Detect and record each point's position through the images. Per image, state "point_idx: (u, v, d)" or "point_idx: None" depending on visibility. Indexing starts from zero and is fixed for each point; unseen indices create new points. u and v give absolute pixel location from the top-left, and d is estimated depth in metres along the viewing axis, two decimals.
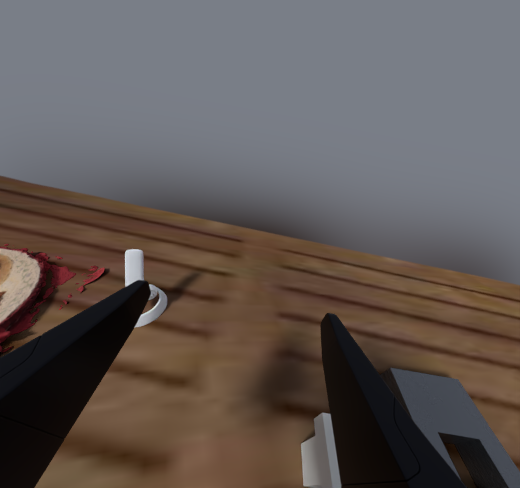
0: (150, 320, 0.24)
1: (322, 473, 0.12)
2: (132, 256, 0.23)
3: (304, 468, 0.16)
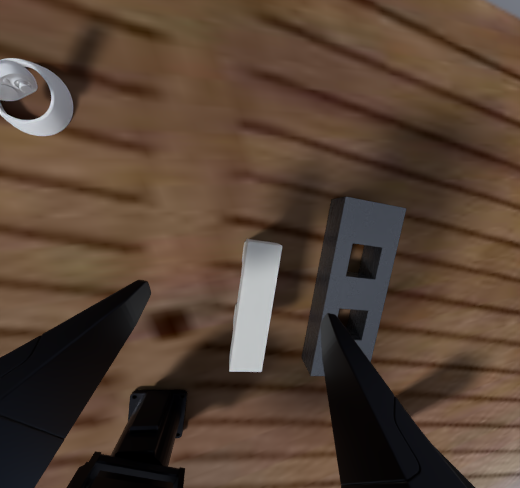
0: (61, 126, 0.18)
1: (242, 269, 0.17)
2: None
3: (243, 254, 0.22)
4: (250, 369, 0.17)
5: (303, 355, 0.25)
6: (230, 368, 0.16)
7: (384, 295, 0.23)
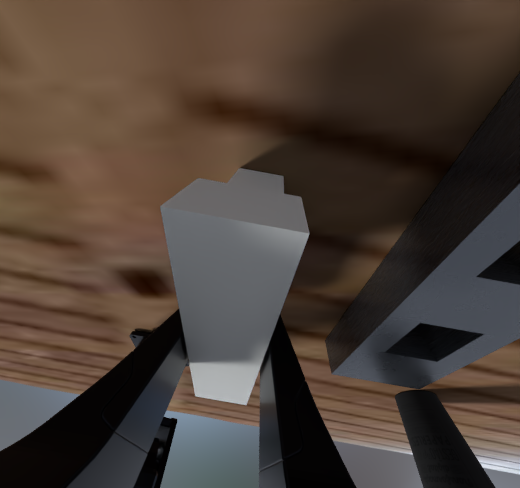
0: None
1: None
2: None
3: None
4: (228, 400, 0.10)
5: (328, 340, 0.18)
6: (195, 394, 0.10)
7: None
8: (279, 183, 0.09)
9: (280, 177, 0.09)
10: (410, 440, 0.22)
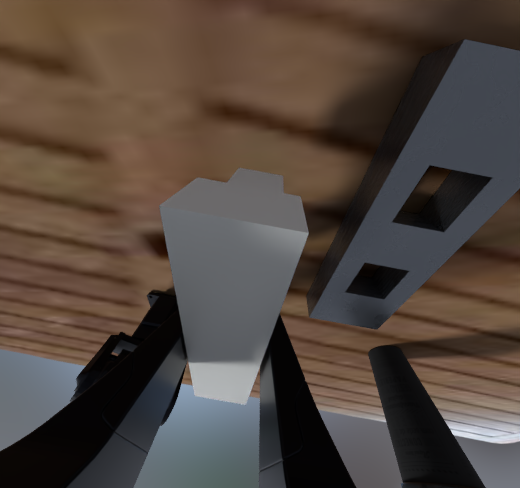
0: None
1: None
2: None
3: None
4: (227, 400, 0.10)
5: (308, 295, 0.23)
6: (195, 394, 0.10)
7: (448, 255, 0.15)
8: (279, 183, 0.09)
9: (280, 177, 0.09)
10: (377, 383, 0.26)
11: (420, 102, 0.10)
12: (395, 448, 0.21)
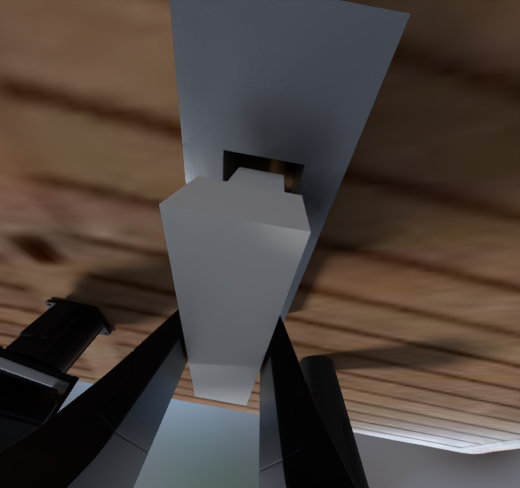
0: None
1: None
2: None
3: None
4: (228, 400, 0.10)
5: None
6: (195, 394, 0.10)
7: (305, 261, 0.12)
8: (279, 182, 0.09)
9: (280, 176, 0.09)
10: None
11: None
12: None
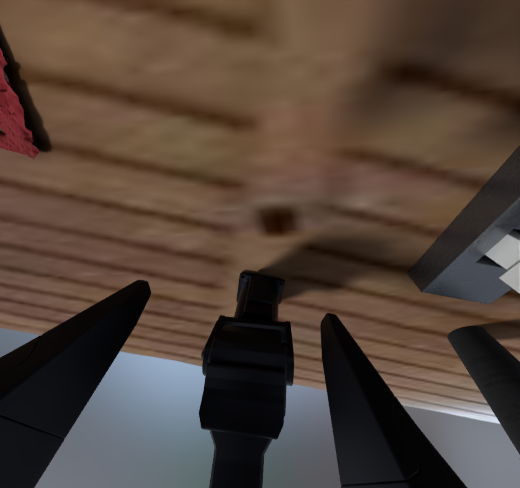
0: None
1: None
2: None
3: None
4: None
5: (411, 272, 0.23)
6: None
7: None
8: None
9: None
10: (467, 363, 0.26)
11: None
12: (507, 423, 0.21)
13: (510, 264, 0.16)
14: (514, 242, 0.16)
